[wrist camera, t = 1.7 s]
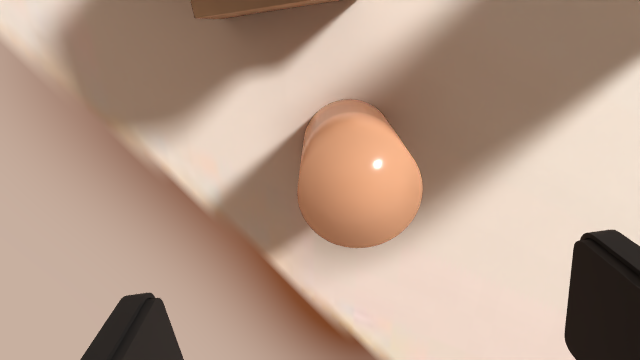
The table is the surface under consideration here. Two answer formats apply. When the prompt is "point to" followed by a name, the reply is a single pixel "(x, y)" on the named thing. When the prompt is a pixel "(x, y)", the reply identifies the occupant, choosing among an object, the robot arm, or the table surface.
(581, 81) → the table surface
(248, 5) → the walnut base block
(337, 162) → the terracotta capsule
